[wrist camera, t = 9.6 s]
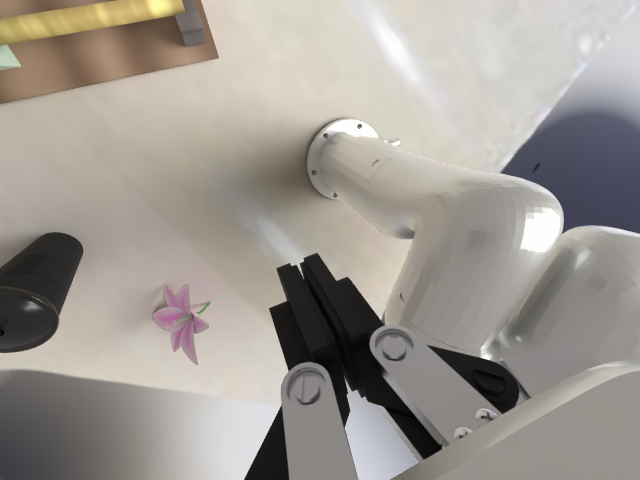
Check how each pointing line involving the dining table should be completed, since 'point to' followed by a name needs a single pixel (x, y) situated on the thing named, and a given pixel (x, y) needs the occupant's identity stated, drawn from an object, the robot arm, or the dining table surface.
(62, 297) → the drinking cup
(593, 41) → the dining table surface
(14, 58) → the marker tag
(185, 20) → the wooden rod slider stand
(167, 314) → the lily
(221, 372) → the dining table surface
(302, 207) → the dining table surface
